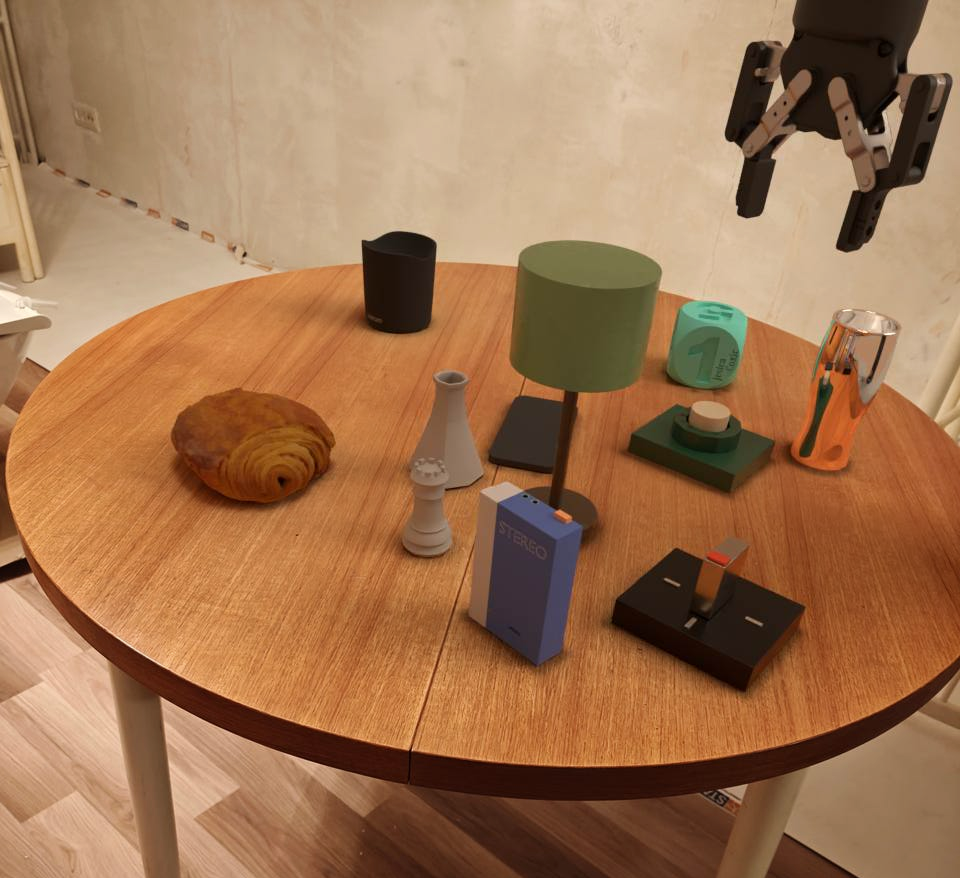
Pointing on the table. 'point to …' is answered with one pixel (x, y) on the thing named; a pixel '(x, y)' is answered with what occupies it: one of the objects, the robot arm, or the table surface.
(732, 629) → the panel
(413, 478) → the rook chess piece
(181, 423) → the croissant
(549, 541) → the walkman
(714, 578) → the dimmer knob
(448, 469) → the flask
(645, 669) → the table surface
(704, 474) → the switch base
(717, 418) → the button
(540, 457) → the phone
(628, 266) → the table lamp
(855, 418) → the chrome tumbler
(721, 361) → the decorative dice
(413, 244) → the pen holder
